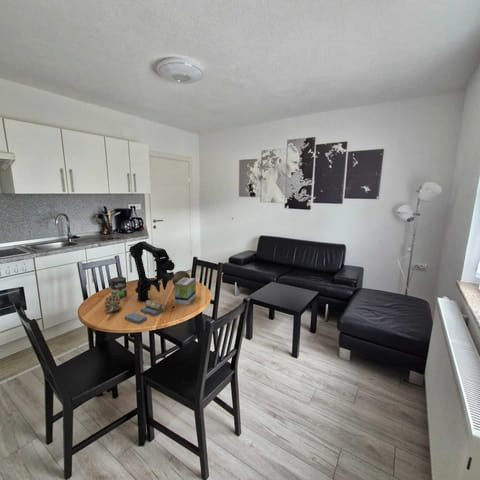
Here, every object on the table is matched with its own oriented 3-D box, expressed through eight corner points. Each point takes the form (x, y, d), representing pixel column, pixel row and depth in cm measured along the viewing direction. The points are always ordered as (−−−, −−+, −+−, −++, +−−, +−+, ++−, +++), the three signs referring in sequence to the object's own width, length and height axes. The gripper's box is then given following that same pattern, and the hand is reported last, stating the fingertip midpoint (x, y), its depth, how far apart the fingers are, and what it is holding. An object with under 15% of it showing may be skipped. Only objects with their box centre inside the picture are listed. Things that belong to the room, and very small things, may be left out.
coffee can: (128, 298, 183) (127, 279, 181) (113, 301, 177) (111, 282, 175) (125, 293, 191) (124, 275, 189) (110, 296, 185) (108, 278, 183)
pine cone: (106, 306, 169) (104, 292, 168) (121, 304, 173) (120, 290, 171) (101, 321, 149) (100, 305, 147) (119, 319, 152) (118, 303, 151)
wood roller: (149, 305, 167) (149, 299, 167) (161, 309, 162) (162, 303, 162) (144, 306, 164) (145, 300, 164) (156, 310, 159) (157, 304, 159)
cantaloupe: (171, 287, 205) (170, 269, 202) (188, 285, 211) (187, 267, 208) (174, 293, 192) (173, 274, 190) (192, 291, 198) (192, 272, 196)
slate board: (150, 306, 169) (150, 304, 169) (164, 310, 164) (163, 308, 163) (124, 319, 152) (124, 316, 152) (138, 324, 146) (138, 321, 146)
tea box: (188, 305, 172) (187, 284, 170) (174, 304, 174) (173, 283, 172) (196, 297, 187) (195, 277, 184) (183, 295, 189) (183, 276, 186)
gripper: (158, 273, 154) (160, 298, 157) (179, 266, 170) (180, 288, 173) (146, 271, 159) (147, 294, 162) (167, 264, 175) (168, 285, 178)
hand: (161, 290), depth 168 cm, fingers open, 5 cm apart
